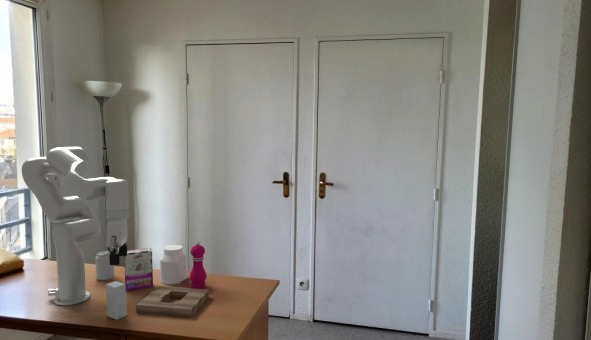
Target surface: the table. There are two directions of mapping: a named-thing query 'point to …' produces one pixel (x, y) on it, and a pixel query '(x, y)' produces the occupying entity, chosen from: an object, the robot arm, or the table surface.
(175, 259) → the jar
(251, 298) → the table surface
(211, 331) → the table surface
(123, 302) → the skincare box
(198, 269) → the pepper mill
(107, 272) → the can
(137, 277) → the candy bar box
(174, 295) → the board
